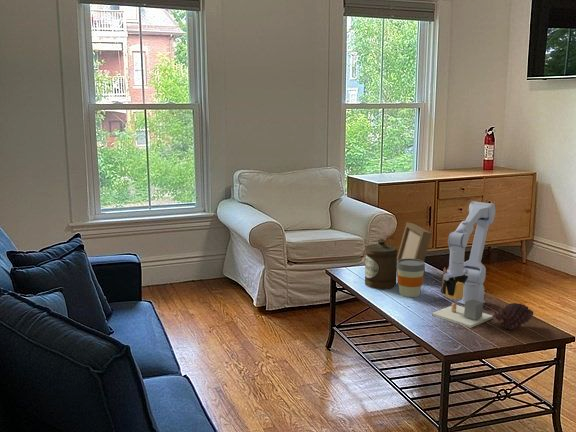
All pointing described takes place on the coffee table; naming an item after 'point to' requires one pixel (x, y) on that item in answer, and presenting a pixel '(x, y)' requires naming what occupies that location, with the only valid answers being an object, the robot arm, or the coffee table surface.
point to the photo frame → (414, 243)
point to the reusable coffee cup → (410, 276)
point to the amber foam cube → (456, 291)
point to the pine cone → (513, 315)
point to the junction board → (460, 316)
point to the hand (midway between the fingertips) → (454, 293)
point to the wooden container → (381, 265)
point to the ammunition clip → (443, 285)
